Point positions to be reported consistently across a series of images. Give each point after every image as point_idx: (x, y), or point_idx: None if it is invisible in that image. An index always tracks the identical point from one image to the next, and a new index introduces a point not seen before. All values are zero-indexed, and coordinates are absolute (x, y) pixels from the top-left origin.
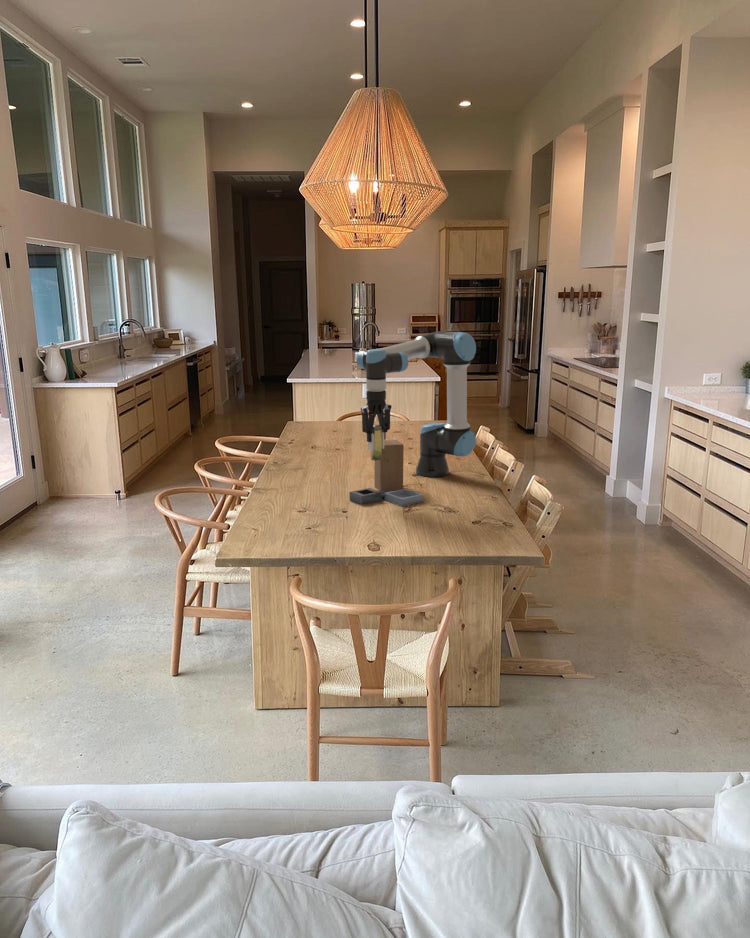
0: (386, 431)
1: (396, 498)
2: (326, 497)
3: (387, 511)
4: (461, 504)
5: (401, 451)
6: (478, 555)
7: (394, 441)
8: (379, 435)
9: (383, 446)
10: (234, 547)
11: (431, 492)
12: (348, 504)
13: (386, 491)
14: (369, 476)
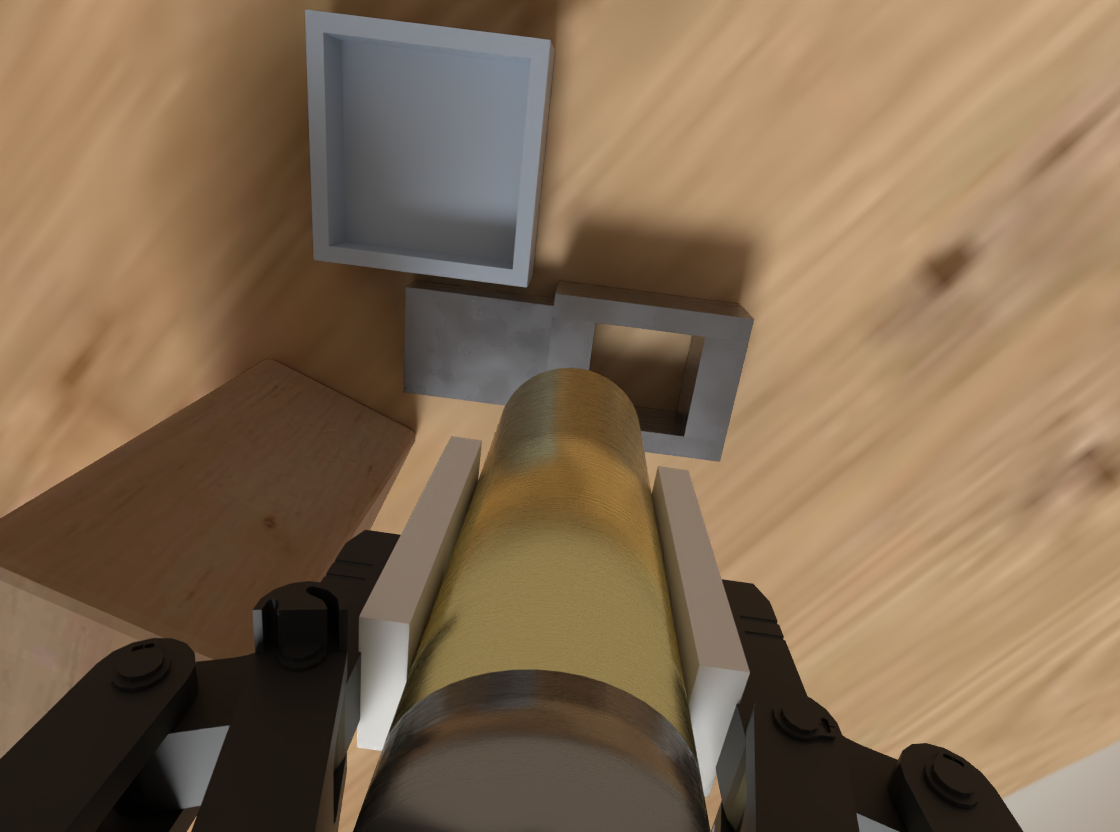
0: (303, 597)
1: (543, 125)
2: (751, 573)
3: (738, 31)
4: None
5: (58, 507)
6: None
7: None
8: (568, 570)
9: (460, 455)
10: None
11: (117, 176)
12: (784, 377)
13: (444, 349)
14: None
